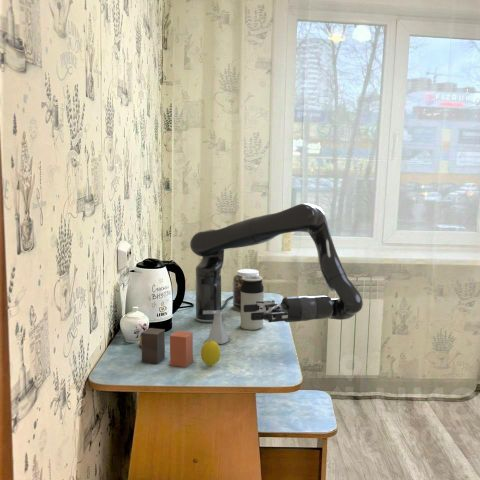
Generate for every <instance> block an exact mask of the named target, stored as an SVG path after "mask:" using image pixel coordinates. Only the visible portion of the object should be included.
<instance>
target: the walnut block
mask: <svg viewBox="0 0 480 480" xmlns="http://www.w3.org/2000/svg"><path fill="white" fill-rule="evenodd" d="M165 331H166V330H165V328H164V329H163V328H155V327H148V328H147V329H145V330H144V331H142V332H141V334H140V338H141V343H142V347H141V363H145V364H154V365H158V364H159V363H161V362H162V361H163V360H165V359H166V340H165V339H166V337H165V335H166V333H165Z"/></svg>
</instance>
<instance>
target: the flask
mask: <svg viewBox="0 0 480 480" xmlns="http://www.w3.org/2000/svg"><path fill="white" fill-rule="evenodd" d="M223 312H224V311H223V310H221V311H220V310H217V311H213V314H214V321H213V322H212V325H211V328H210V331H209V334H208V336H207V340H206V342H208V341H210V340H212V341H214V342H216V343H217V344H218V345H221V344H222V345H223V344H226V343H227V342H229V336H228V333H227V330H226V328H225V324H224V322H223V314H224V313H223Z"/></svg>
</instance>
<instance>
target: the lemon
mask: <svg viewBox="0 0 480 480" xmlns="http://www.w3.org/2000/svg"><path fill="white" fill-rule="evenodd" d="M200 350H201V351H200V356H201V360H202V362H203V363H204V364H205V365H206V366H207V365H208V366H209V367H213V366H214V365H216V364H217V363H218V362H219V361H220V358H221V348H220V344H217V343H216V342H214V341H212V340H210V341H208V342H207V341H206V342H205V343H203V345H202V347H201V349H200Z"/></svg>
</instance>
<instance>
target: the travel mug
mask: <svg viewBox="0 0 480 480" xmlns="http://www.w3.org/2000/svg"><path fill="white" fill-rule="evenodd" d="M242 280H243V284H242V285H241V311H240V328H241V329H243V330H247V331H256V330H260V329H262V328H263V327H264V320H251V313H252V312H244V311H243V306H244V305H247V304H256V301H264V289H265V286H264V284H262V280H264V277H263V276H262V277H261V275H260V276H256V275H248V276H243V277H242ZM260 307H262V306H260Z"/></svg>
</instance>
